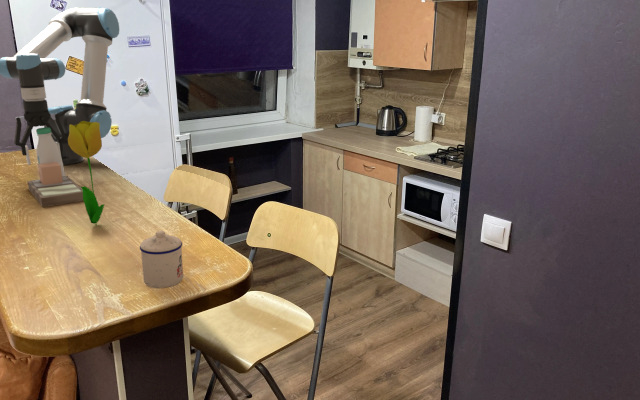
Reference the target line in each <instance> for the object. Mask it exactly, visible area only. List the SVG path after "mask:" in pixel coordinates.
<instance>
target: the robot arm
mask: <svg viewBox="0 0 640 400" xmlns="http://www.w3.org/2000/svg"><path fill="white" fill-rule="evenodd" d="M119 34H120V23H119V20H118V17H117V15H116V14H115V12H114V11H113V10H112V9H110V8H108V7H72V8H69V9H66V10H64V11H63V12H61V13H58V14H57V15H56V16H54V17H53V18H52V19H51V20H50V21H49V22H48V26H47V27H46V28H45V29H44V30H42V31H41V32H40V33H39V34H37V35H36V36H35V37H34V38H33V39H32V40H31V41H29V42H28V43H26V45H24V46H23V47H22V48H21V49H20V50H18V51H17V52H16V53H15V54H14V55H12V56H11V57H10V56H5V57H0V75H1V76H2V78H6V79H11V80H15V79H16V80H17V79H18V80H19V87H20V93H21V99H22V100H23V101H22V104H23V105H22V106H23V111H24V114H23V115H22V116H15V117H14V120H15V124H16V125H15V131H14V132H15V134H14V141H13V144H14V145H15V146H17V147H20V149H21V154H22V155H23V156H25V158H26V164H27V165H28V166H29V165H32V164H31V163H32V161H31V158H30V150H29V146H28V145H27V142H28V140H29V138H30V135H31V133H32V130H33V128H37V127H43V128H44V127H48V128H50V129H51V133H52V134H51V136H52V138H53V140H54V141H55V143H56V144H57V146H58V147H59V150H60V154H61V158H62V162H63V166H64V165H66V166H67V165H73V164H77V163H80V162H83V161H84V157H81V156H80V155H78V154H77V153H75V152H74V151H73V150H72V149H71V148H70V146H69V145H68V137H69V125H70V124H71V125H74V126H75V125H77V124H79V123H80V122H81V121H86V122H98V123H100V135H101V139H104V138H105V137H106V136H107V135H108V134H109V133H110V131H111V129H112V123H113V122H112V115H111V113H110V112H109V111H107V106H106V105H105V104H104V98H105V97H104V96H105V85H106V73H107V62H108V61H107V59H108V49H109V47H110V46H111V45H113V39H115V38H117V37H118V36H119ZM78 37H79V38H81V39H82V41H83V42H84V43H85V46H84V47H85V48H84V57H83V68H82V81H81V92H80V93H81V94H80V100H79V101H77V102H76V104H75V109H74V106H73V105H72V104H71V105H69V104H68V105H59V106H52V107H49V106H48V101H47V99H46V98H47V93H46V87H45V81H50V80H54V81H55V80H59V79H61V78H64V75H65V74H66V66H65V63H64V62H63V61H62V60H61V59H59V58H56V57H48V56H49V55H50V54H51V53H53V52H54V51H55V50H56V49H57V48H58V47H59V46H61V44H63V43H64V42H68V41H70V40H71V39H73V38H78ZM47 57H48V58H47ZM24 121H26V122H27V123H28V124H27V126H26V129H25V131H24V134H23V136H22V138H21V134H22V124H23V122H24Z"/></svg>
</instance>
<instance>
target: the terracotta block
mask: <svg viewBox="0 0 640 400" xmlns="http://www.w3.org/2000/svg"><path fill="white" fill-rule="evenodd" d="M37 169H38V175H39V180H40V181H41V182H42V184H43V185H47V184H54V183H62V182H63V180H62V172H61V165H60V164H58V163H57V162H52V163H44V164H39V163H37Z"/></svg>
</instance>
